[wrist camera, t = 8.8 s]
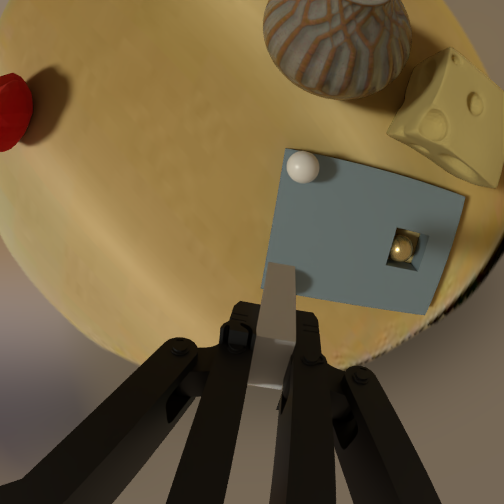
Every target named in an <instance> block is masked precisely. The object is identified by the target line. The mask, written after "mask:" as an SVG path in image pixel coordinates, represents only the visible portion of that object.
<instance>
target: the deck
mask: <svg viewBox="0 0 504 504" xmlns="http://www.w3.org/2000/svg"><path fill="white" fill-rule="evenodd" d="M296 152H298V150H293V149H287V148H285V154H284V160H283V166H282V172H281V178H280V184H279V189H278V195H277V201H276V207H275V212H274V218H273V224H272V229H271V235H270V241H269V246H268V252H267V257H266V263H265V268H264V274H263V279H262V284H261V289H264V284H265V279H266V273H267V268H268V262H273V263H278V264H284V265H290V266H295V287H296V295H299V296H305V297H311V298H316V299H322V300H328V301H334V302H340V303H346V304H352V305H359V306H365V307H371V308H378V309H384V310H391V311H398V312H405V313H412V314H419V315H425V314H426V312H427V310H428V307H429V305H430V303H431V300H432V298H433V296H434V293H435V291H436V288H437V286H438V283H439V281H440V278H441V275H442V273H443V270H444V267H445V264H446V262H447V259H448V256H449V253H450V250H451V247H452V244H453V240H454V237H455V234H456V231H457V227H458V224H459V220H460V216H461V213H462V209H463V205H464V201H465V197H464V196H462V195H459V194H456V193H454V192H451V191H448V190H445V189H442V188H440V187H437V186H434V185H431V184H428V183H425V182H421V181H418V180H415V179H412V178H409V177H405V176H402V175H399V174H395V173H392V172H388V171H384V170H381V169H377V168H373V167H370V166H366V165H362V164H358V163H354V162H350V161H345V160H341V159H337V158H332V157H328V156H323V155H318V154H313V153H312V154H313V155H314V156H315V157H316V158H317V160H318V162H319V173H318V175H317V177H316V178H315V179H314V180H313V181H311V182H309V183H298V182H296V181H294V180H293V179H292V178H291V177H290V176H289V174H288V172H287V161H288V159H289V158H290V156H291V155H292V154H294V153H296ZM396 228H402V229H406V230H410V231H414V232H417V233H420V237H419V240H418V243H417V247H416V250H415V253H414V256H413V259H412V262H411V264H410V263H405V262H396V261H394V260H391V259H388V256H389V252H390V249H391V246H392V242H393V239H394V236H395V232H396Z"/></svg>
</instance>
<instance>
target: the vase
mask: <svg viewBox="0 0 504 504" xmlns="http://www.w3.org/2000/svg"><path fill="white" fill-rule="evenodd" d="M263 34H264V40H265V44H266V47H267V50H268V52H269V55H270V57H271V59H272V60H273V62H274V64H275V65H276V67H277V68H278V69H279V70H280V71H281V73H282V74H283V75H284V76H285V77H286V78H287V79H288V80H290V81H291V82H292V83H293V84H295V85H296V86H298V87H299V88H301V89H303V90H304V91H306V92H309V93H311V94H313V95H316V96H319V97H323V98H327V99H334V100H352V99H359V98H363V97H366V96H369V95H372V94H374V93H376V92H378V91H380V90H382V89H383V88H385V87H386V86H387V85H389V84H390V83H391V82H392V81H393V80H394V79H395V78H396V77H397V76H398V75H399V74H400V73H401V71H402V70H403V68H404V66H405V64H406V62H407V60H408V58H409V55H410V50H411V43H412V33H411V25H410V20H409V17H408V14H407V12H406V10H405V7H404V5H403V4H402V2H401V0H269V1H268V3H267V6H266V9H265V12H264V17H263Z"/></svg>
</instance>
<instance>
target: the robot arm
mask: <svg viewBox="0 0 504 504" xmlns="http://www.w3.org/2000/svg"><path fill="white" fill-rule="evenodd" d="M318 327H319V325H318V319H317V318H316V316H315V315H314V313H311V312H305V311H299V310H296V287H295V266H290V265H284V264H278V263H273V262H268V268H267V273H266V279H265V284H264V290H263V295H262V301H261V305H259V304H254V303H248V302H243V301H240V302H238V303H237V304H236V305H235V306H234V307H233V310H232V314H231V317H230V320H229V321H228V322H226V323H224V324H223V325H222V326H221V328H220V338H219V344H217V345H216V346H213V347H207V348H197V346H196V344H195V343H194V342H193V341H191V340H190V339H186V338H180V337H176V338H172V339H169V340H168V341H166V342H165V343H164V344H163V345H162V346H161V347H160V348H159V349H158V350H156V351H155V352H154V353H153V354H152V355H151V356H150V357H149V358H148V359H147V360H146V361H145V362H144V363H143V364H142V365H141V366H140V367H139V368H138V369H137V370H136V371H135V372H134V373H133V374H132V375H130V376H129V377H128V378H127V379H126V380H125V381H124V382H123V383H122V384H121V385H120V386H119V387H118V388H117V389H116V390H115V391H114V392H113V393H112V394H111V395H110V396H109V397H108V398H106V399H105V400H104V401H103V402H102V403H101V404H100V405H99V406H98V407H97V408H96V409H95V410H94V411H93V412H92V413H91V414H90V415H89V416H88V417H87V418H86V419H85V420H83V421H82V422H81V423H80V424H79V425H78V426H77V427H76V428H75V429H74V430H73V431H72V432H71V433H70V434H69V435H68V436H67V437H66V438H65V439H64V440H62V441H61V442H60V443H59V444H58V445H57V446H56V447H55V448H54V449H53V450H52V451H51V452H50V453H49V454H48V455H47V456H46V457H45V458H43V459H42V460H41V461H40V462H39V463H38V464H37V465H36V466H35V467H34V468H33V469H32V470H31V471H30V472H29V473H28V474H26V475H25V476H24V478H22V479H20V480H17V481H14V482H11V483H8V484H5V485H2V486H0V504H112V503H113V502H114V501H115V500H116V498H117V497H118V496H119V495H120V494H121V492H122V491H123V490H124V489H125V488H126V486H127V485H128V484H129V483H130V482H131V480H132V479H133V478H134V477H135V475H136V474H137V473H138V472H139V470H140V469H141V468H142V467H143V465H144V464H145V463H146V462H147V461H148V459H149V458H150V457H151V455H152V454H153V453H154V452H155V450H156V449H157V448H158V447H159V445H160V444H161V443H162V441H163V440H164V439H165V438H166V436H167V435H168V434H169V432H170V431H171V430H172V429H173V427H174V426H175V424H176V423H177V422H178V421H179V419H180V418H181V417H182V415H183V414H184V413H185V411H186V410H187V408H188V407H189V406H190V405H191V403H192V402H193V401H194V399H195V397H198V396H201V399H200V402H199V406H198V408H197V412H196V414H195V418H194V421H193V424H192V426H191V430H190V432H189V435H188V438H187V441H186V444H185V448H184V450H183V453H182V456H181V459H180V463H179V465H178V468H177V471H176V474H175V477H174V480H173V483H172V487H171V489H170V492H169V495H168V499H167V502H166V504H223V503H224V498H225V493H226V489H227V484H228V479H229V475H230V470H231V465H232V460H233V455H234V450H235V445H236V440H237V435H238V430H239V425H240V420H241V414H242V409H243V404H244V399H245V394H246V388H247V384H249V385H255V386H261V387H267V388H273V389H280V390H281V388H282V385H283V391H282V394H281V398H280V400H279V403H278V406H277V409H276V410H279V416H278V426H277V437H276V447H275V457H274V468H273V476H272V485H271V493H270V501H269V504H336V480H335V456H334V447H335V450H336V453H337V456H338V459H339V462H340V465H341V468H342V471H343V474H344V477H345V479H346V483H347V485H348V488H349V491H350V494H351V497H352V500H353V503H354V504H441V502H440V499H439V497H438V495H437V493H436V491H435V489H434V486H433V484H432V482H431V480H430V478H429V476H428V474H427V472H426V470H425V468H424V466H423V464H422V462H421V460H420V458H419V456H418V454H417V452H416V450H415V448H414V446H413V444H412V442H411V440H410V438H409V437H408V435H407V433H406V431H405V429H404V427H403V425H402V423H401V421H400V419H399V418H398V416H397V414H396V412H395V410H394V408H393V407H392V405H391V403H390V401H389V399H388V397H387V395H386V394H385V392H384V390H383V388H382V387H381V385H380V383H379V381H378V379H377V378H376V376H375V375H374V373H373V372H372V371H371V370H369V369H368V368H366V367H363V366H352V367H349V368H348V369H347V370H346V372H345V371H342V370H340V369H337V368H334V367H332V366H331V365H329V364H328V363H327V360H326V358H325V356H324V355H323V354H322V353H321V344H320V334H319V328H318Z"/></svg>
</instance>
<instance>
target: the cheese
mask: <svg viewBox="0 0 504 504" xmlns="http://www.w3.org/2000/svg"><path fill="white" fill-rule="evenodd" d="M387 135H389V136H390V137H392V138H394V139H396V140H398V141H400V142H402V143H404V144H406V145H408V146H410V147H411V148H413V149H415V150H416V151H418V152H419V153H421V154H422V155H424V156H425V157H427V158H428V159H430V160H431V161H433V162H434V163H436V164H437V165H438V166H440V167H441V168H443V169H444V170H445V171H447V172H448V173H450V174H452V175H454V176H456V177H458V178H460V179H462V180H465V181H467V182H470V183H472V184H475V185H479V186H483V187H489V188H496V187H497V186H498V183H499V179H500V176H501V172H502V168H503V163H504V91H503V90H502V89H501V88H500V87H499V86H498V85H496V84H495V83H494V82H493V81H492V80H491V79H489V78H488V77H487V76H486V75H485V74H484V73H482V72H481V71H480V70H479V69H478V68H476V67H475V66H474V65H473V64H472V63H471V62H470V61H468V60H467V59H466V58H465V57H464V56H463V55H461V54H460V53H459V52H458V51H456V50H455V49H454V48H452V47H449V48H447V49H445V50H442V51H440V52H439V53H437V54H435V55H434V56H432V57H430V58H428V59H426V60H424V61H423V62H421V63H420V64H418V65H417V66H416V67H415V68H414V69H413V72H412V75H411V77H410V80H409V83H408V86H407V89H406V92H405V101H404V103H403V105H402V107H401V108H400V109H399V110H398V111H397V113H396V115H395V118H394V120H393V122H392V123H391V125H390V127H389V129H388V131H387Z"/></svg>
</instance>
